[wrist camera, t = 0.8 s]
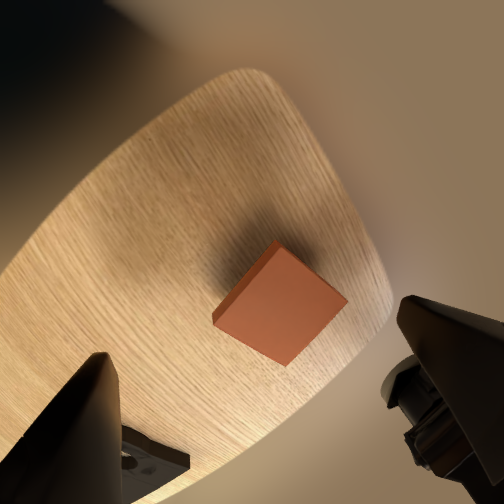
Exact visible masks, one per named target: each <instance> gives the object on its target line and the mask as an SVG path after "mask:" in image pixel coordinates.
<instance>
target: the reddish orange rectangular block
mask: <svg viewBox="0 0 504 504" xmlns="http://www.w3.org/2000/svg"><path fill="white" fill-rule="evenodd" d="M347 302H348V301H347V300H346V299H345V298H344V297H343V296H342V295H341V294H340V293H339V292H338V291H337V290H336V289H335V288H333V287H332V286H331V285H330V284H329V283H328V282H326V281H325V280H324V279H323V278H322V277H320V276H319V275H318V274H317V273H316V272H314V271H313V270H312V269H311V268H310V267H308V266H307V265H306V264H305V263H303V262H302V261H301V260H300V259H299V258H297V257H296V256H295V255H294V254H293V253H291V252H290V251H289V250H288V249H286V248H285V247H284V246H283V245H282V244H280V243H279V242H278V241H277V240H274V241H273V242H272V244H271V245H270V246H269V247H268V248H267V250H266V251H265V252H264V253H263V254H262V255H261V257H260V258H259V259H258V260H257V261H256V263H255V264H254V265H253V266H252V267H251V268H250V270H249V271H248V272H247V273H246V274H245V275H244V277H243V278H242V279H241V280H240V281H239V282H238V284H237V285H236V286H235V287H234V288H233V290H232V291H231V292H230V293H229V294H228V295H227V297H226V298H225V299H224V300H223V301H222V302H221V304H220V305H219V306H218V307H217V308H216V309H215V311H214V312H213V313H212V319H213V325H214V326H216V327H217V328H219V329H220V330H222V331H224V332H225V333H227V334H229V335H230V336H232V337H234V338H235V339H237V340H239V341H241V342H242V343H244V344H246V345H247V346H249V347H251V348H253V349H254V350H256V351H258V352H260V353H261V354H263V355H265V356H267V357H269V358H270V359H272V360H274V361H276V362H278V363H279V364H281V365H283V366H285V367H286V366H287V365H288V364H289V363H290V362H291V361H292V360H293V359H294V358H295V357H296V356H297V355H298V354H299V353H300V352H301V351H302V350H303V349H304V348H305V347H306V346H307V345H308V344H309V343H310V342H311V341H312V340H313V339H314V338H315V337H316V336H317V335H318V334H319V333H320V332H321V331H322V330H323V329H324V328H325V327H326V325H327V324H328V323H329V322H330V321H331V320H332V319H333V318H334V317H335V316H336V315H337V314H338V312H339V311H340V310H341V309H342V308H343V307H344V306H345V305H346V304H347Z"/></svg>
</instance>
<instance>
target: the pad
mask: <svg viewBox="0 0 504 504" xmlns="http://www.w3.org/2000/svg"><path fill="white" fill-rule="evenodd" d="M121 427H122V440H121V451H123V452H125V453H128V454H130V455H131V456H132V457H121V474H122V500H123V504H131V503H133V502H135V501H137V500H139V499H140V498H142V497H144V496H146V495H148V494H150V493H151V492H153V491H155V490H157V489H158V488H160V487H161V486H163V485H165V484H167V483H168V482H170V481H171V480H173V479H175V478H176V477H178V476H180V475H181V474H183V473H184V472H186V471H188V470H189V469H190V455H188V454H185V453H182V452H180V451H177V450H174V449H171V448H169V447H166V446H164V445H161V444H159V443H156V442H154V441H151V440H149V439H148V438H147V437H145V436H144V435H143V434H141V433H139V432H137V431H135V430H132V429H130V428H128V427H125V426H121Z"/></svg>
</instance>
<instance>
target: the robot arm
mask: <svg viewBox="0 0 504 504" xmlns="http://www.w3.org/2000/svg"><path fill="white" fill-rule="evenodd" d="M397 324H398V326H399V328H400V329H401V331H402V333H403V335H404V337H405V338H406V340H407V342H408V344H409V345H410V347H411V349H412V351H413V353H414V354H415V356H416V358H417V359H418V361H419V363H420V364H419V365H417V366H415V367H412V368H410V369H407V370H404V371H402V372H400V373H398V374H397V375H396V378H395V381H394V385H393V388H392V391H391V394H390V398H389V401H388V404H387V408H388V409H392V408H395V407H397V406H399V407H400V409H401V410H402V412H403V413H404V414H405V416H406V417H407V418H408V420H409V421H410V422H411V424H412V425H413V428H412V429H410V430H409V431H408V432H406V433H405V434H404V436H405V442H406V443H407V445H408V446H409V448H410V450H411V453H412V456H413V458H414V462H415V464H416V465H417V466H422V467H424V468H425V469H426V470H428V471H429V470H432V471H433V473H434V474H435V475H436V476H438V477H441V478H445V479H449V480H452V481H456V482H460V483H462V485H463V486H464V487H465V489H466V490H467V491H468V493H469V494H470V496H471V497H472V499H473V500H474V501H475V503H476V504H504V323H503V322H500V321H497V320H494V319H490V318H487V317H484V316H481V315H477V314H474V313H471V312H467V311H464V310H461V309H458V308H455V307H451V306H448V305H445V304H442V303H438V302H435V301H431V300H429V299H425V298H422V297H419V296H415V295H410V296H406V297H404V298H403V299H402V300H401V303H400V307H399V311H398V314H397ZM121 440H122V427H121V413H120V397H119V379H118V374H117V372H116V369H115V367H114V365H113V362H112V360H111V358H110V355H109V354H108V353H107V352H96V353H93V354H92V355H91V356H90V357H89V358H88V359H87V360H86V361H85V362H84V364H83V365H82V366H81V367H80V368H79V369H78V370H77V372H76V373H75V374H74V375H73V376H72V377H71V378H70V379H69V381H68V382H67V383H66V384H65V385H64V386H63V388H62V389H61V390H60V391H59V392H58V393H57V395H56V396H55V397H54V398H53V399H52V400H51V402H50V403H49V404H48V405H47V406H46V408H45V409H44V410H43V411H42V412H41V414H40V415H39V416H38V417H37V418H36V420H35V421H34V422H33V423H32V424H31V426H30V427H29V428H28V429H27V431H26V432H25V433H24V434H23V437H21V438H20V439H19V441H18V442H17V443H16V444H15V446H14V447H13V448H12V449H11V450H10V452H9V453H8V454H7V455H6V457H5V458H4V459H3V460H2V461H1V462H0V504H123V500H122V474H121Z"/></svg>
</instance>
